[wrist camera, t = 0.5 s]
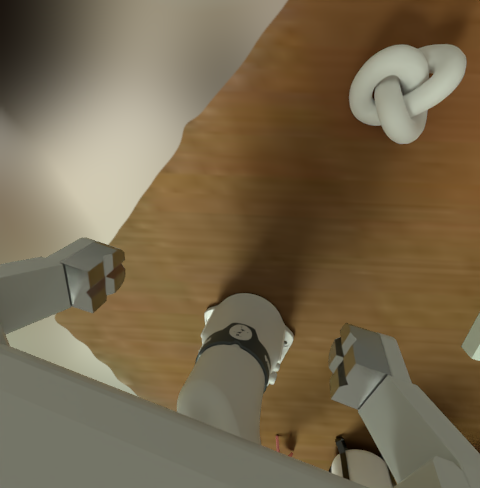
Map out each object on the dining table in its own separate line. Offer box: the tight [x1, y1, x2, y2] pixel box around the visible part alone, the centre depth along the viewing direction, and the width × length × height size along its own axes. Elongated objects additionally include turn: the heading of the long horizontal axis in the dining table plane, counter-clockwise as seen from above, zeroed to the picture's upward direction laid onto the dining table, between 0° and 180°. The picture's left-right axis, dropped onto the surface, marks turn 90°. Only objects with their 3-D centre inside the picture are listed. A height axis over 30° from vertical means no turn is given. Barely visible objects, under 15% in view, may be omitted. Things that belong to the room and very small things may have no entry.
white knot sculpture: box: [349, 44, 467, 144], centre depth 33 cm, size 11×12×9 cm
